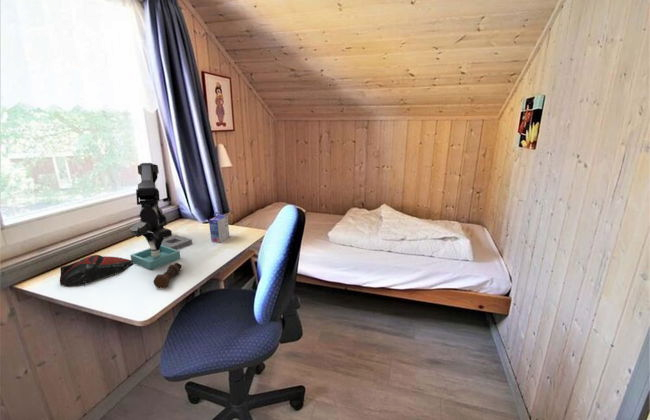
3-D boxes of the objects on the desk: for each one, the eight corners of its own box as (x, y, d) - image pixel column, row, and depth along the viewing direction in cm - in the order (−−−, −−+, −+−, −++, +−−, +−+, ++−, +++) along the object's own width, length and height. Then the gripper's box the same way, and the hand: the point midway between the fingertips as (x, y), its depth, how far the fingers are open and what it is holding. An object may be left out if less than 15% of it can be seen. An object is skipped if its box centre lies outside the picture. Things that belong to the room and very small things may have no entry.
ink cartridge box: (220, 235, 171) (218, 210, 167) (229, 236, 170) (228, 210, 166) (210, 242, 161) (208, 215, 157) (219, 243, 160) (217, 216, 156)
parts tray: (131, 262, 137) (130, 254, 136) (161, 251, 149) (160, 244, 148) (150, 270, 131) (149, 262, 130) (180, 258, 142) (179, 251, 141)
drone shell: (52, 289, 115) (47, 269, 113) (79, 265, 134) (76, 248, 132) (116, 283, 120) (113, 264, 118) (134, 261, 138) (132, 245, 136)
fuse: (149, 256, 139) (147, 241, 137) (157, 253, 142) (155, 239, 140) (154, 258, 137) (152, 243, 135) (162, 255, 140) (160, 240, 138)
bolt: (181, 274, 132) (163, 291, 118) (169, 268, 131) (151, 285, 117) (186, 263, 131) (170, 279, 116) (175, 257, 130) (157, 273, 116)
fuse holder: (155, 246, 154) (154, 242, 154) (176, 238, 164) (176, 235, 164) (170, 251, 149) (170, 247, 148) (192, 243, 159) (191, 239, 158)
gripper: (118, 215, 132) (124, 250, 136) (144, 223, 123) (150, 260, 127) (144, 209, 141) (148, 242, 145) (170, 216, 132) (174, 251, 136)
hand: (154, 248), depth 138 cm, fingers closed on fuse, 4 cm apart
